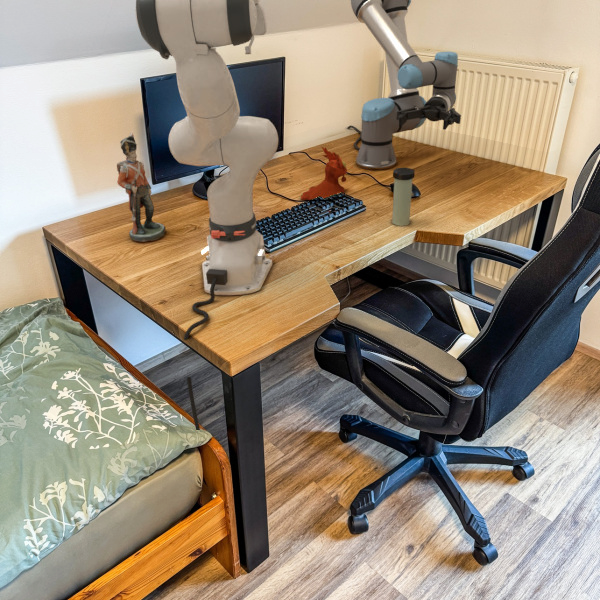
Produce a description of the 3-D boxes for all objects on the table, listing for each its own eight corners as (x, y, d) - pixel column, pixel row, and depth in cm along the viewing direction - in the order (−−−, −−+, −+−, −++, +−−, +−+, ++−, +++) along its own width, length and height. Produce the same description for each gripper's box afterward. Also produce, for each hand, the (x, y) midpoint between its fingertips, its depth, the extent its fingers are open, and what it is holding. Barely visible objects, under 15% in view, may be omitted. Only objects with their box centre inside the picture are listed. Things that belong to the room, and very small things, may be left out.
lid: (416, 179, 160) (416, 174, 159) (394, 180, 160) (394, 175, 159) (412, 172, 165) (412, 167, 165) (391, 173, 165) (391, 167, 165)
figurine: (157, 243, 164) (137, 141, 148) (123, 241, 166) (100, 140, 150) (171, 228, 173) (154, 130, 157) (139, 226, 175) (119, 129, 159)
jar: (410, 225, 168) (414, 175, 160) (393, 226, 168) (396, 175, 160) (407, 218, 173) (411, 169, 164) (390, 219, 173) (393, 169, 164)
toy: (355, 194, 190) (356, 151, 182) (309, 205, 184) (308, 160, 176) (337, 183, 200) (337, 141, 192) (293, 193, 193) (291, 150, 186)
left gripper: (182, -1, 142) (190, 58, 149) (263, -5, 141) (267, 55, 149) (187, -3, 147) (194, 54, 154) (265, -6, 147) (268, 51, 154)
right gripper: (473, 121, 185) (462, 138, 169) (399, 116, 194) (382, 133, 178) (476, 97, 181) (465, 113, 165) (400, 94, 190) (382, 108, 174)
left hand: (231, 54), depth 151 cm, fingers open, 8 cm apart
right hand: (422, 123), depth 172 cm, fingers open, 13 cm apart
